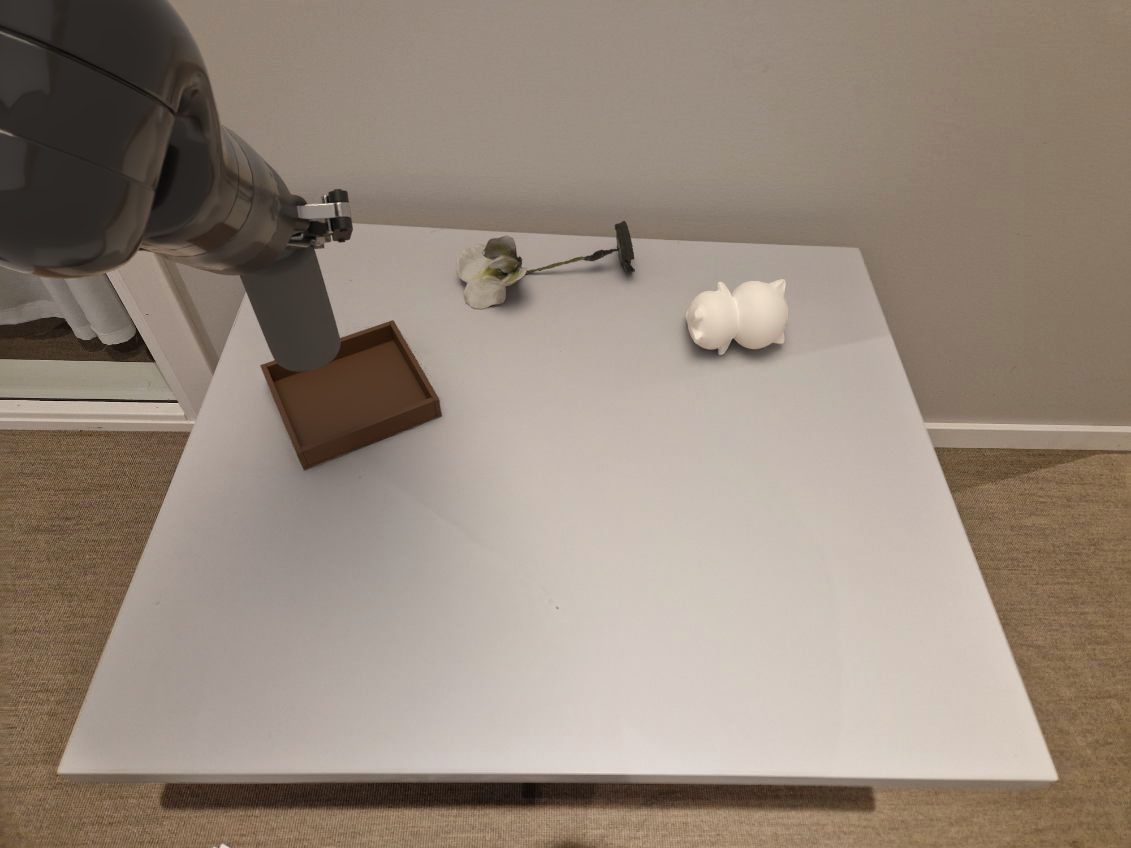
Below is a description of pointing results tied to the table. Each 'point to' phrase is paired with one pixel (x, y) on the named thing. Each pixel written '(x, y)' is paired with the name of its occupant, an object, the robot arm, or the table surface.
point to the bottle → (294, 310)
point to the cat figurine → (739, 316)
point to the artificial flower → (516, 266)
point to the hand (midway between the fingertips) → (275, 238)
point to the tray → (353, 396)
